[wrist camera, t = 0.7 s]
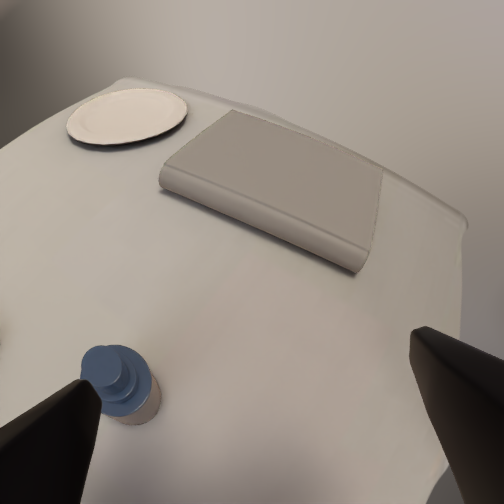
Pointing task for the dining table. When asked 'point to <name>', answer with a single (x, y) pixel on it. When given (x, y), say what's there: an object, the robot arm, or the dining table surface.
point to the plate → (126, 117)
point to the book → (281, 185)
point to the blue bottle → (122, 383)
